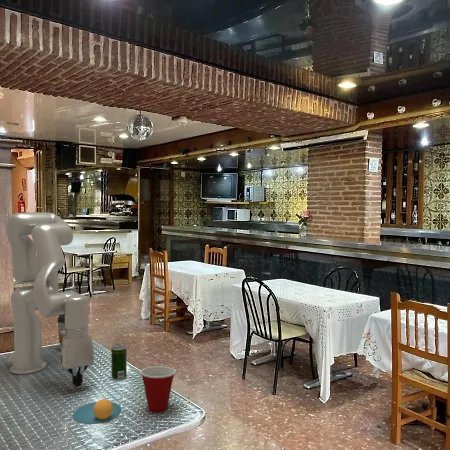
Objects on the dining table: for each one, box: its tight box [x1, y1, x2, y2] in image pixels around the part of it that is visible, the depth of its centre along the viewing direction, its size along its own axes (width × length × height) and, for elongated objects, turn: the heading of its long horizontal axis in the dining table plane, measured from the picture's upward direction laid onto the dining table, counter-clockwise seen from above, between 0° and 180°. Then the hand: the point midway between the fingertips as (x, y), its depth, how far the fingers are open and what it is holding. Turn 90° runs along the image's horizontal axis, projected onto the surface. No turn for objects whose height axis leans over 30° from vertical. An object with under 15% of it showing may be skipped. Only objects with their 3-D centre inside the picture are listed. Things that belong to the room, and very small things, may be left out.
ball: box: [93, 398, 113, 420], centre depth 126 cm, size 6×6×6 cm
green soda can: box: [110, 342, 128, 381], centre depth 157 cm, size 5×5×12 cm
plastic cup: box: [140, 365, 177, 414], centre depth 133 cm, size 11×11×12 cm
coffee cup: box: [57, 314, 65, 350], centre depth 188 cm, size 8×8×15 cm
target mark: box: [72, 401, 122, 425], centre depth 130 cm, size 14×14×1 cm
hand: (77, 385), depth 146 cm, fingers closed
